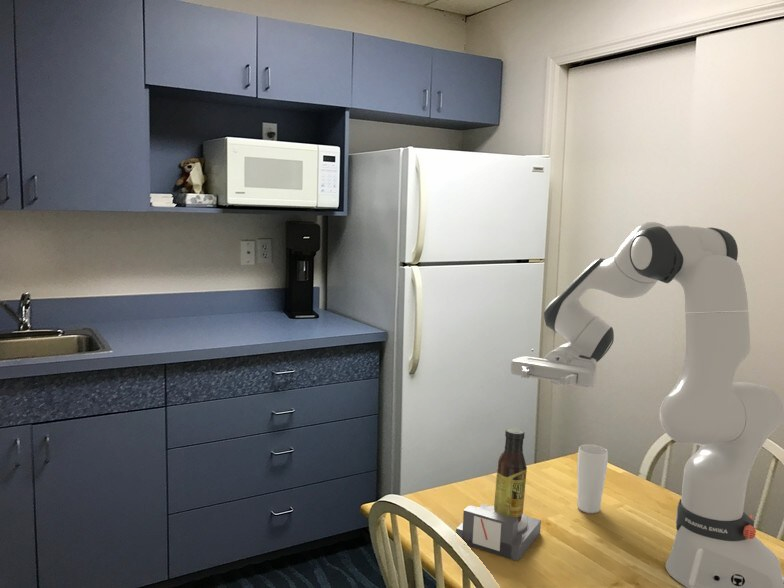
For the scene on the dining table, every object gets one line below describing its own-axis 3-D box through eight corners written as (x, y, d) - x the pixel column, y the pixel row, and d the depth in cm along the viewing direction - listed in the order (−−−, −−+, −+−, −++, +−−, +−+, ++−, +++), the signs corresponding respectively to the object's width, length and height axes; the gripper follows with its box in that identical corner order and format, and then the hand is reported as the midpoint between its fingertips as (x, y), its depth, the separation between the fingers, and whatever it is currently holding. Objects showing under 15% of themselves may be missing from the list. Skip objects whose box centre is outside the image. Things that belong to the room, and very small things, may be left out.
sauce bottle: (513, 528, 142) (520, 438, 139) (487, 519, 146) (493, 431, 143) (528, 517, 147) (534, 430, 144) (502, 508, 151) (508, 423, 148)
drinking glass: (600, 504, 164) (604, 445, 162) (606, 516, 157) (611, 455, 155) (571, 501, 165) (576, 443, 163) (576, 514, 158) (581, 453, 156)
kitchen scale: (540, 533, 149) (542, 500, 148) (517, 561, 136) (519, 527, 135) (481, 516, 156) (483, 485, 155) (454, 542, 143) (456, 509, 142)
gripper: (521, 348, 173) (502, 358, 161) (602, 360, 162) (588, 371, 151) (520, 371, 174) (500, 383, 162) (600, 385, 163) (585, 399, 152)
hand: (543, 378), depth 156 cm, fingers open, 8 cm apart
